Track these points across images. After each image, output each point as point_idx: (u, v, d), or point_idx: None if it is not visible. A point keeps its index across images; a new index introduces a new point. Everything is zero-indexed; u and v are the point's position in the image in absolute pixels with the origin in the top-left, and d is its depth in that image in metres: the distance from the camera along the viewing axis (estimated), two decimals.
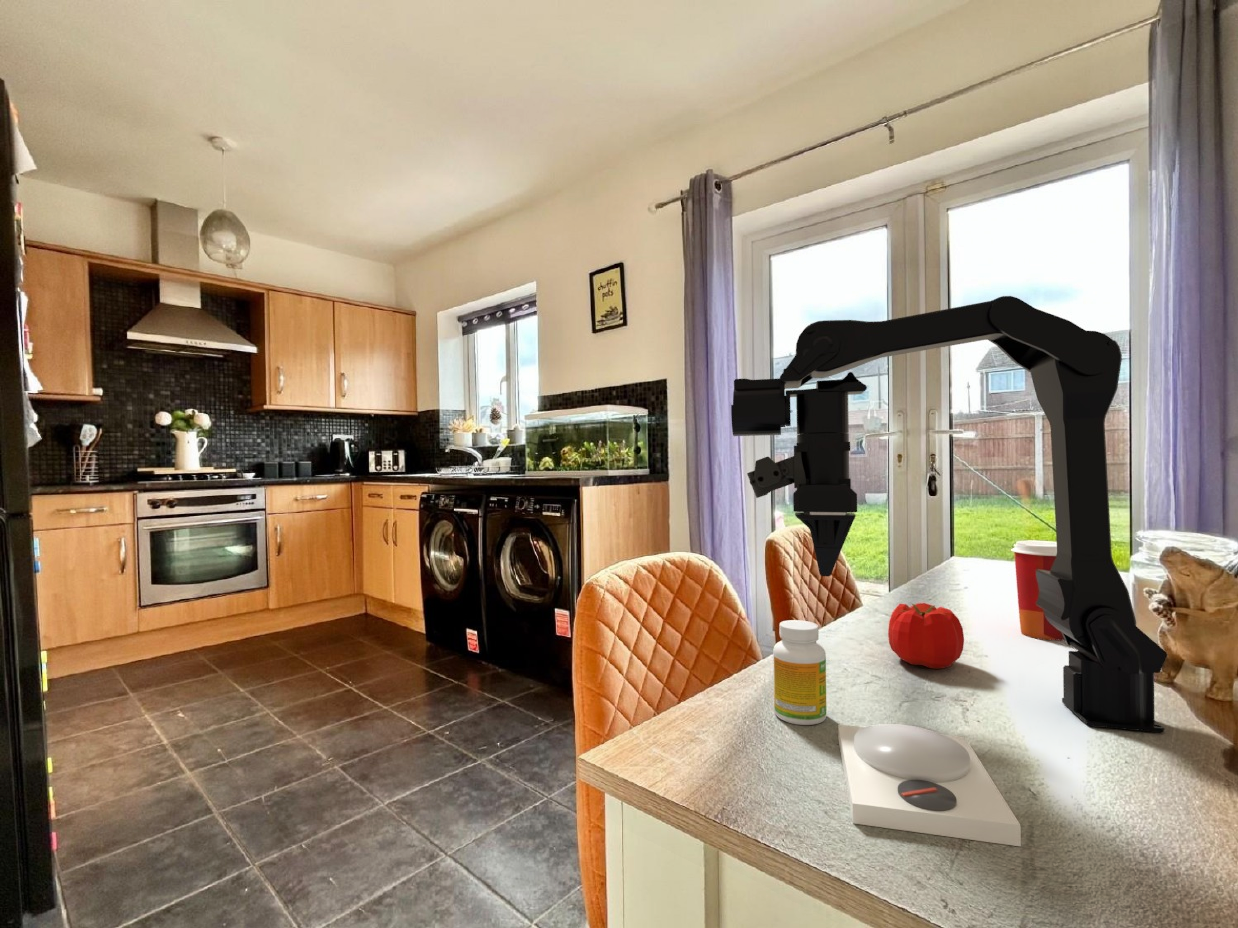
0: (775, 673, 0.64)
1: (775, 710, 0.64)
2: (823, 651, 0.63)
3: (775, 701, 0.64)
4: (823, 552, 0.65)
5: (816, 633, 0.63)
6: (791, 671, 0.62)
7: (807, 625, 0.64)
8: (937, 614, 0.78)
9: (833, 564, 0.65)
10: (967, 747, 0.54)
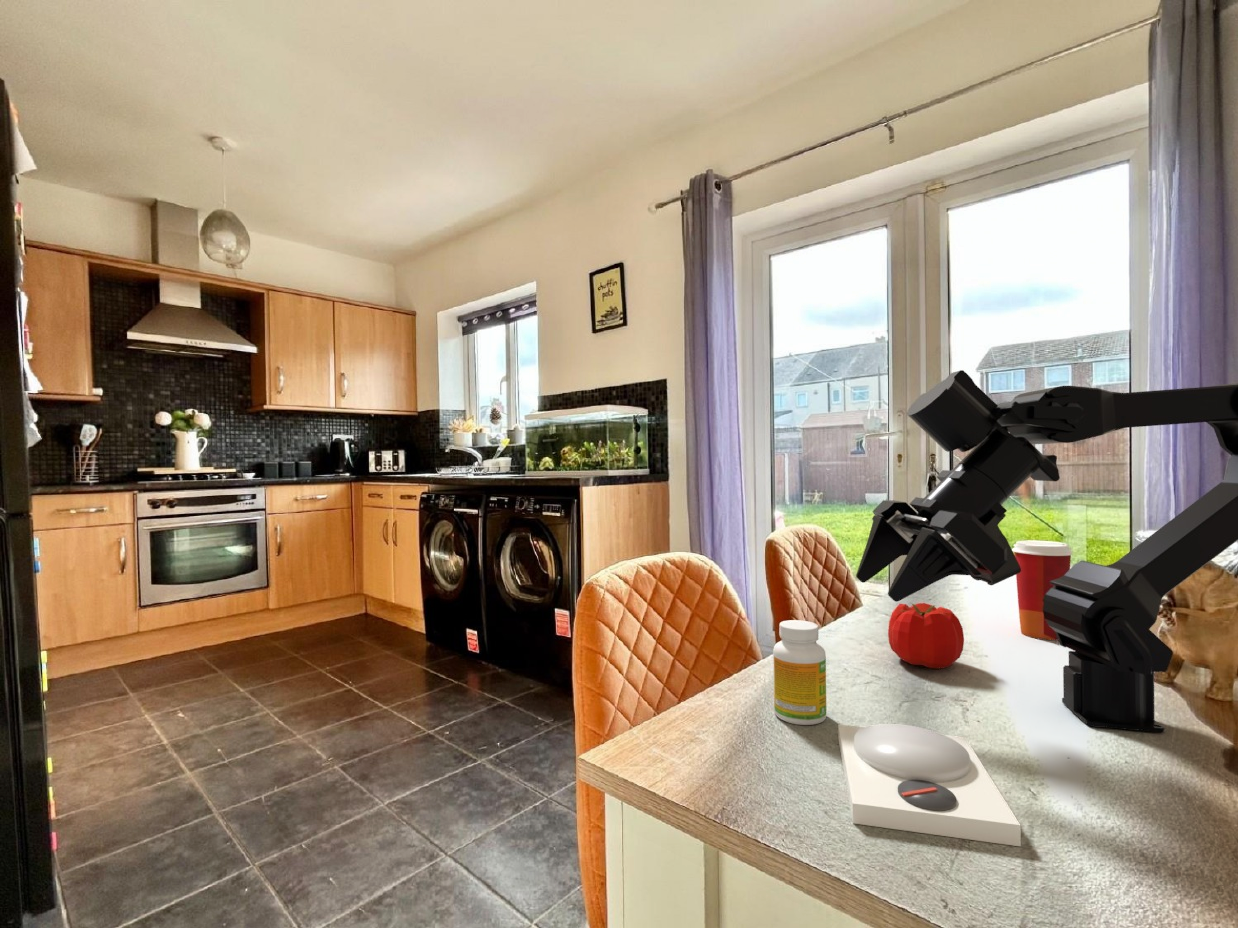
0: (775, 673, 0.64)
1: (775, 710, 0.64)
2: (823, 651, 0.63)
3: (775, 701, 0.64)
4: None
5: (816, 633, 0.63)
6: (791, 671, 0.62)
7: (807, 625, 0.64)
8: (937, 614, 0.78)
9: None
10: (967, 747, 0.54)
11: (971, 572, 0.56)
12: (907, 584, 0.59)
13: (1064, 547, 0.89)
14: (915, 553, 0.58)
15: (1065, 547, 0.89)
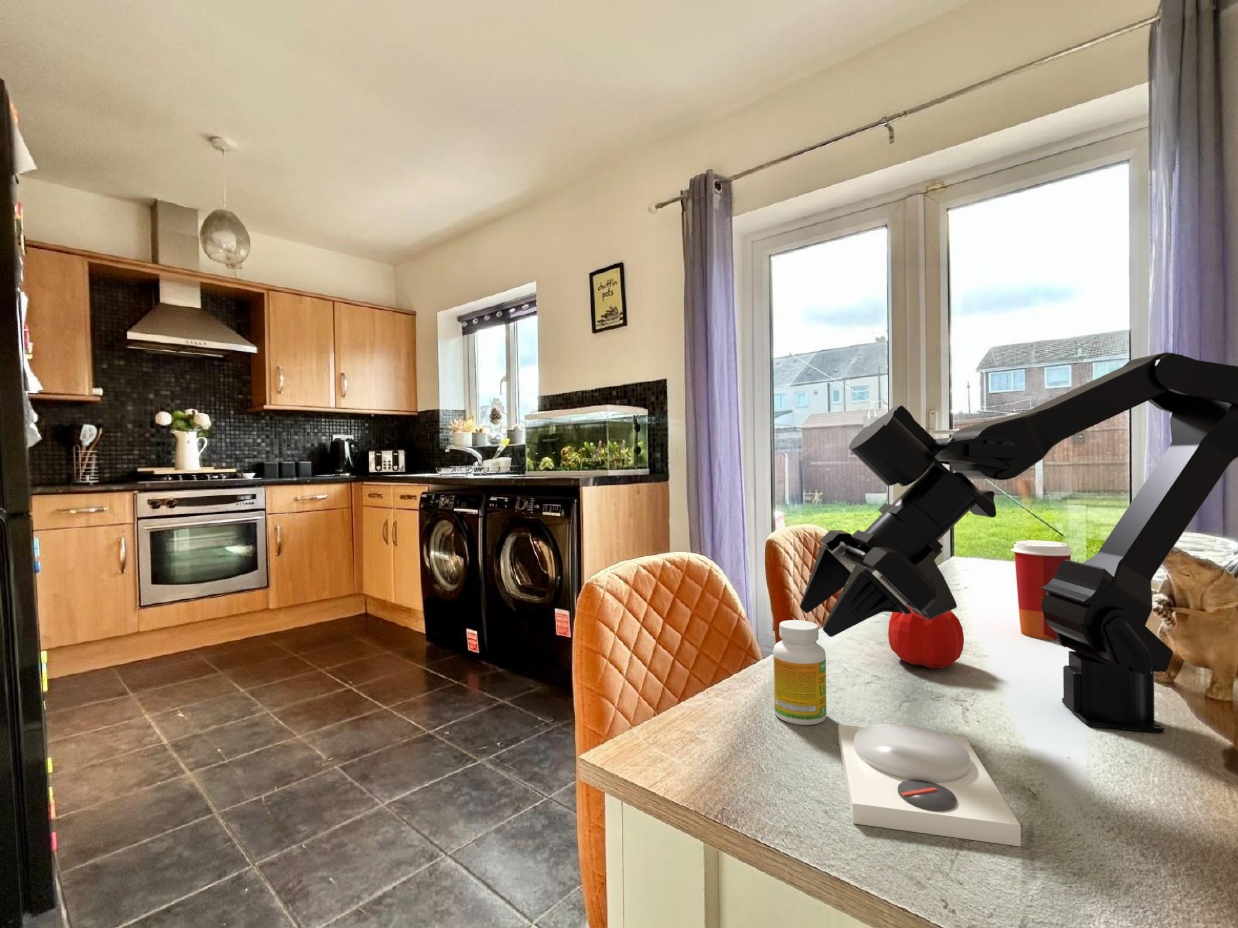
0: (775, 673, 0.64)
1: (775, 710, 0.64)
2: (823, 651, 0.63)
3: (775, 701, 0.64)
4: None
5: (816, 633, 0.63)
6: (791, 671, 0.62)
7: (807, 625, 0.64)
8: None
9: (804, 595, 0.70)
10: (967, 747, 0.54)
11: (901, 610, 0.56)
12: (841, 620, 0.59)
13: (1064, 547, 0.89)
14: (848, 590, 0.58)
15: (1065, 547, 0.89)
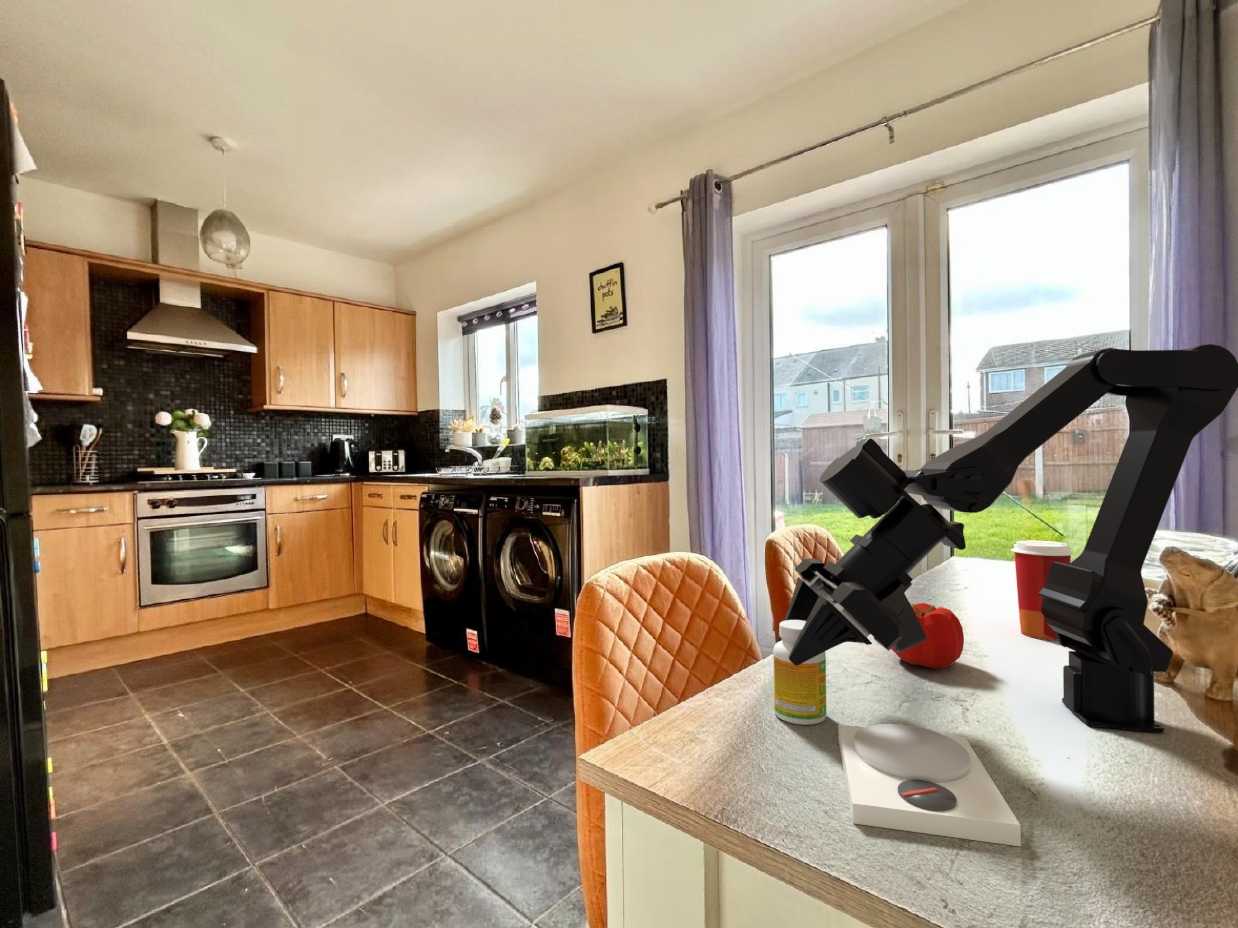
0: (775, 673, 0.64)
1: (775, 710, 0.64)
2: None
3: (775, 701, 0.64)
4: None
5: None
6: (791, 671, 0.62)
7: None
8: (937, 614, 0.78)
9: None
10: (967, 747, 0.54)
11: (862, 641, 0.58)
12: (805, 649, 0.61)
13: (1064, 547, 0.89)
14: (811, 620, 0.60)
15: (1065, 547, 0.89)
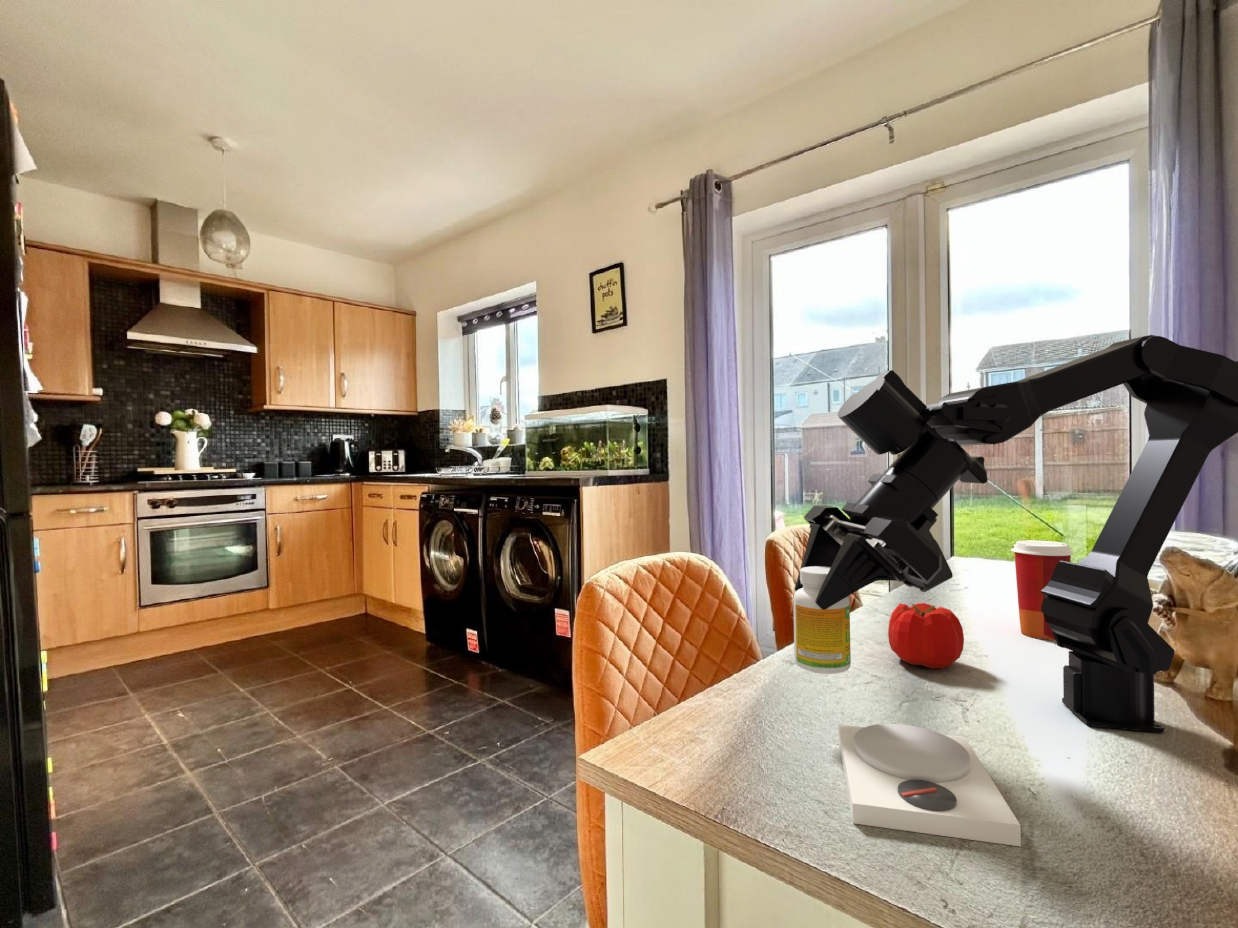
0: (797, 622, 0.61)
1: (797, 661, 0.61)
2: (847, 596, 0.60)
3: (798, 651, 0.61)
4: None
5: None
6: (817, 618, 0.59)
7: None
8: (937, 614, 0.78)
9: None
10: (967, 747, 0.54)
11: (896, 577, 0.55)
12: (834, 591, 0.58)
13: (1064, 547, 0.89)
14: (841, 560, 0.57)
15: (1065, 547, 0.89)
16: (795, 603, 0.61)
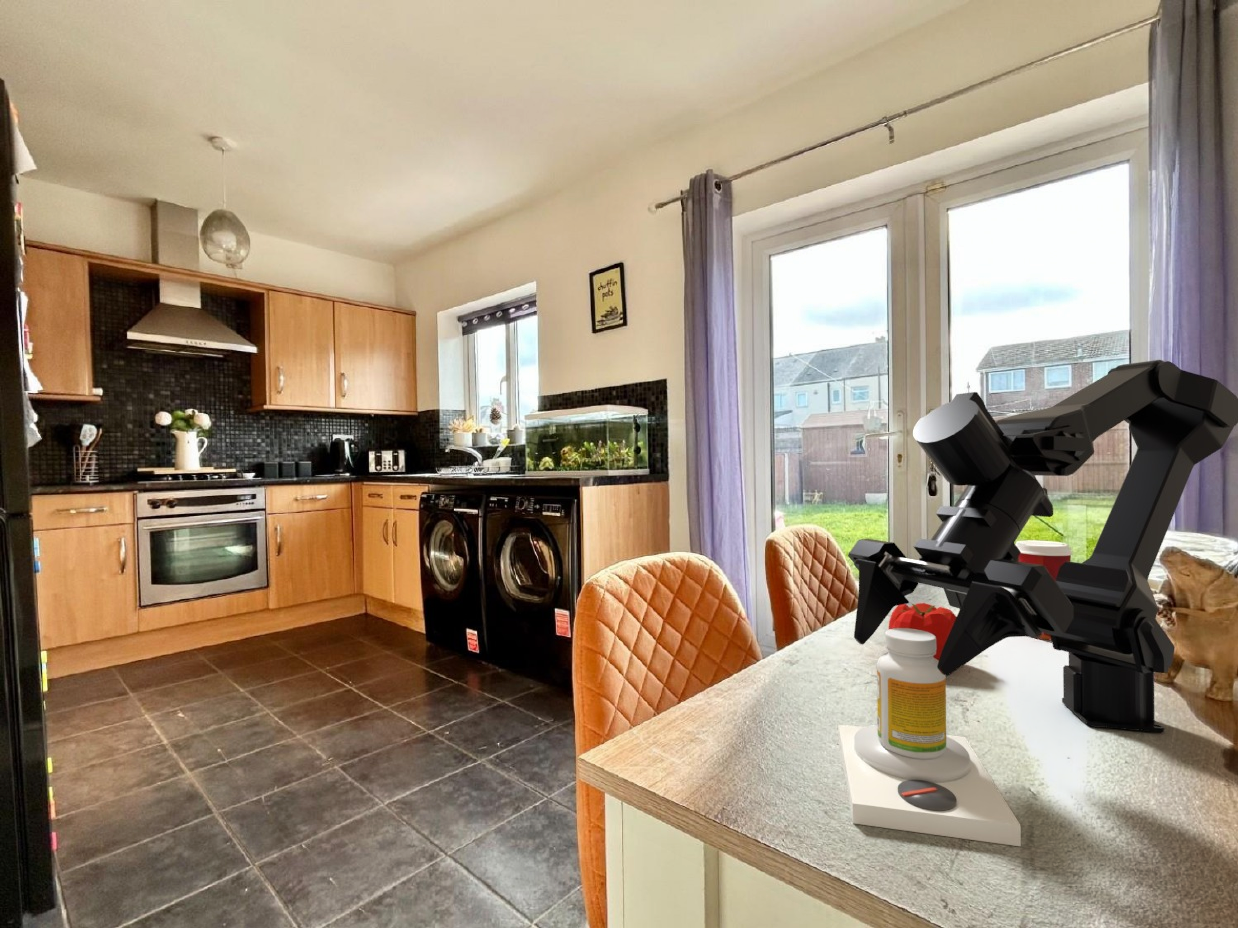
0: (892, 699, 0.51)
1: (891, 745, 0.51)
2: None
3: (892, 734, 0.51)
4: None
5: None
6: (921, 694, 0.50)
7: (920, 634, 0.53)
8: (937, 614, 0.78)
9: (856, 622, 0.57)
10: (967, 747, 0.54)
11: (1034, 633, 0.47)
12: (961, 653, 0.48)
13: (1064, 547, 0.89)
14: (974, 616, 0.47)
15: (1065, 547, 0.89)
16: (887, 676, 0.52)
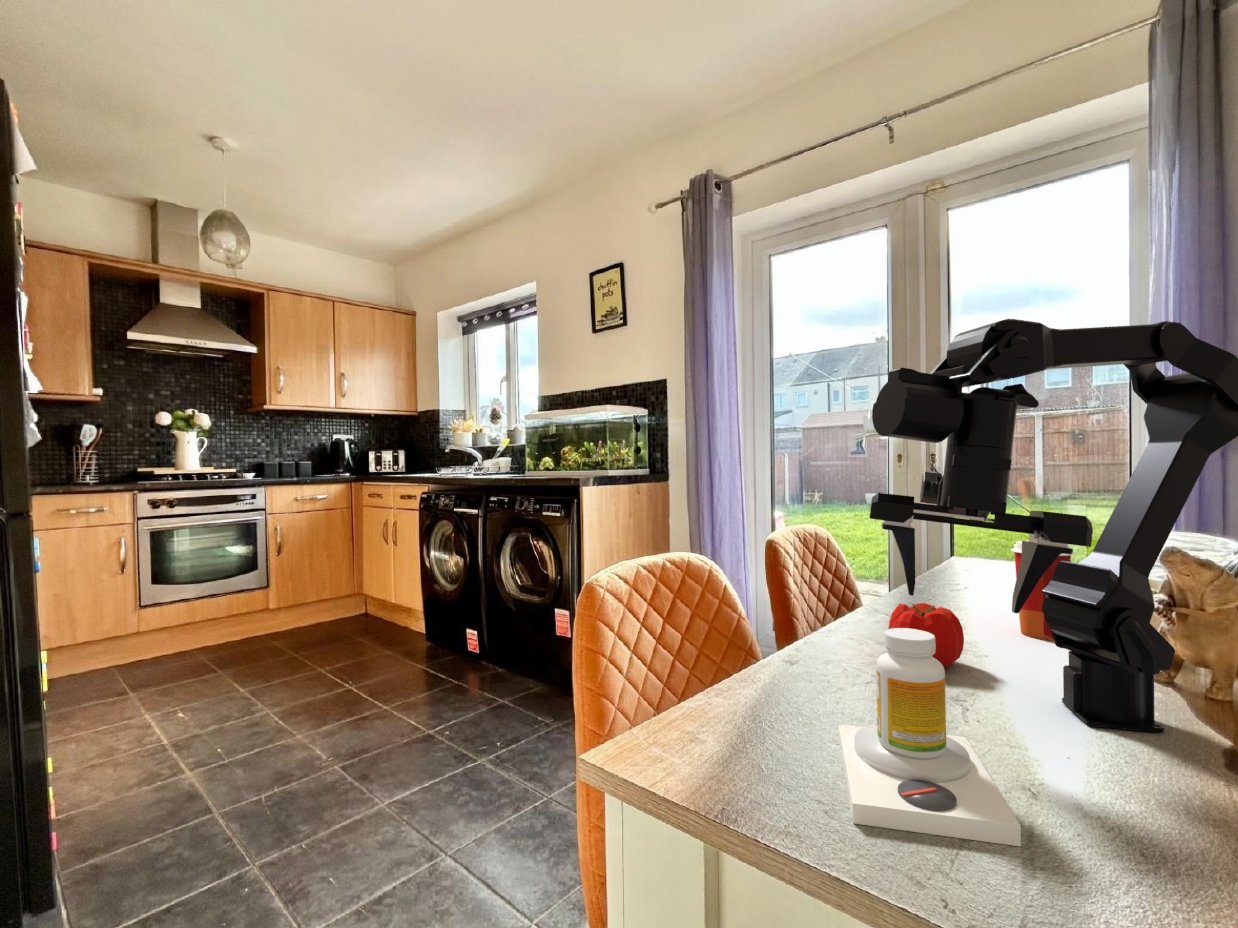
0: (892, 698, 0.51)
1: (891, 745, 0.51)
2: None
3: (892, 734, 0.51)
4: (903, 567, 0.63)
5: None
6: (921, 693, 0.50)
7: (919, 633, 0.53)
8: (937, 614, 0.78)
9: (906, 581, 0.62)
10: (967, 747, 0.54)
11: None
12: None
13: None
14: (1044, 572, 0.57)
15: None
16: (887, 676, 0.52)
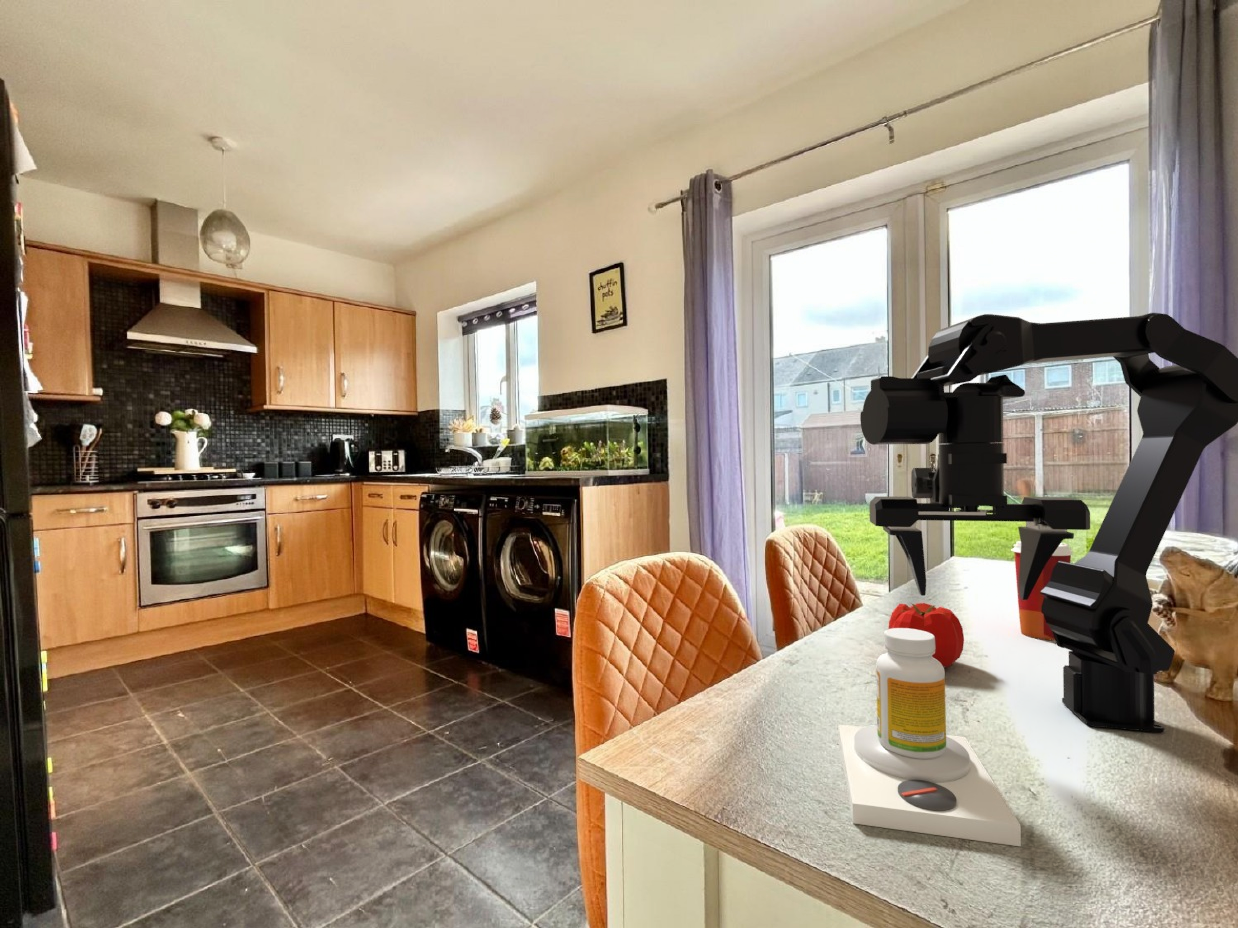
0: (892, 698, 0.51)
1: (891, 745, 0.51)
2: (939, 662, 0.53)
3: (892, 734, 0.51)
4: (911, 568, 0.64)
5: None
6: (921, 693, 0.50)
7: (919, 633, 0.53)
8: (937, 614, 0.78)
9: (917, 582, 0.63)
10: (967, 747, 0.54)
11: None
12: None
13: (1064, 547, 0.89)
14: (1049, 558, 0.58)
15: (1065, 547, 0.89)
16: (886, 676, 0.52)
